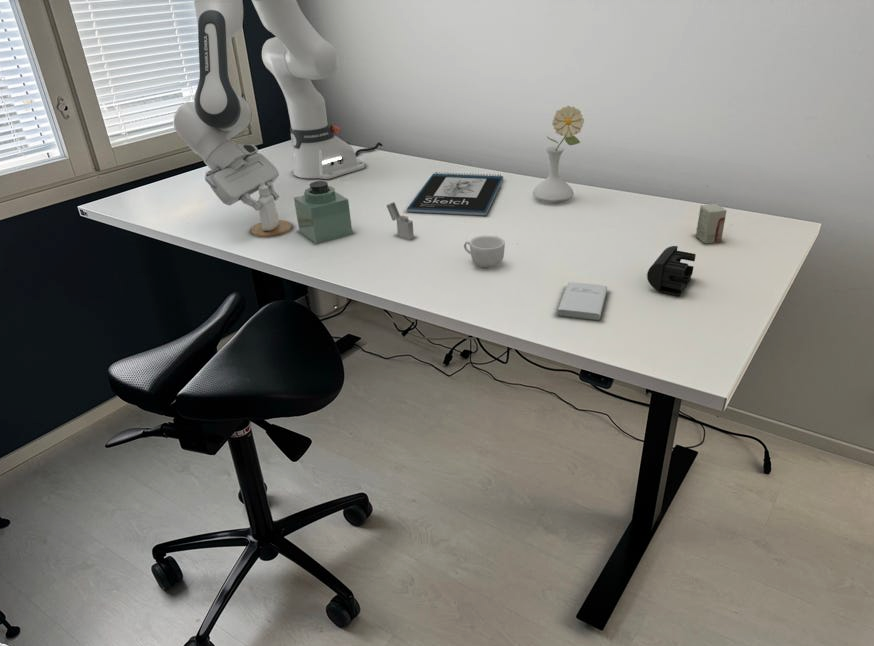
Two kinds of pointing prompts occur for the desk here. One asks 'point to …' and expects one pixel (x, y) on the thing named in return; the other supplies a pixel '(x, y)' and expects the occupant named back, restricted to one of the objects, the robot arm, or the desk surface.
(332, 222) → the dispenser
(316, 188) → the grey short cylinder
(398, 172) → the desk surface
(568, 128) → the flower in vase
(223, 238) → the desk surface
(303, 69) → the robot arm
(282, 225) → the coaster
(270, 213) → the eye dropper bottle
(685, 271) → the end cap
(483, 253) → the teacup
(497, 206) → the desk surface
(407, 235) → the lighter
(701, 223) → the small box
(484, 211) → the sketchbook
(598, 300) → the hard drive
